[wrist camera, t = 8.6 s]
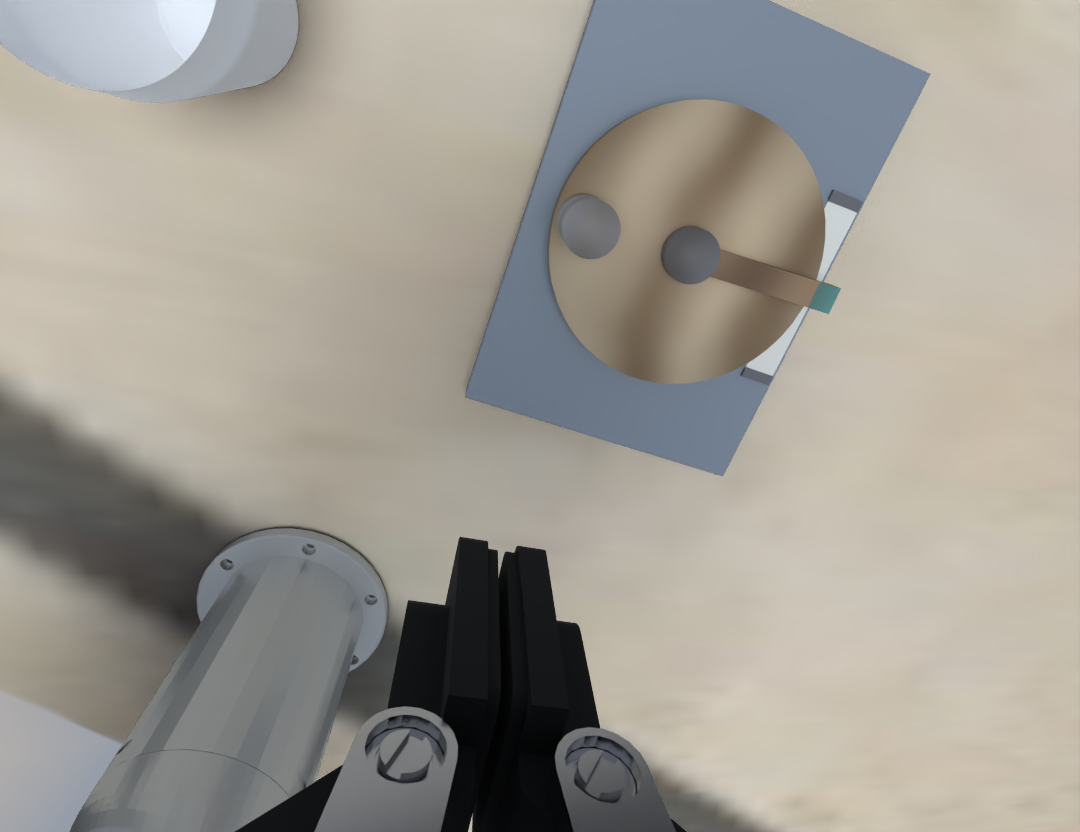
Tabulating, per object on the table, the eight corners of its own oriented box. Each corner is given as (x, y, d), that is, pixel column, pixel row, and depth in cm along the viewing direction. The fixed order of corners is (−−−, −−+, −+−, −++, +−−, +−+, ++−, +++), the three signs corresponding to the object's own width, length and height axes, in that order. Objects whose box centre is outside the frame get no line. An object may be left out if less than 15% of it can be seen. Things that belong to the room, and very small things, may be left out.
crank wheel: (877, 159, 33) (943, 162, 28) (761, 406, 38) (800, 446, 33) (598, 59, 31) (616, 42, 26) (515, 337, 36) (516, 368, 31)
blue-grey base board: (715, 465, 42) (723, 478, 40) (466, 388, 39) (464, 398, 37) (912, 77, 33) (933, 73, 32) (613, -59, 30) (619, -70, 29)
